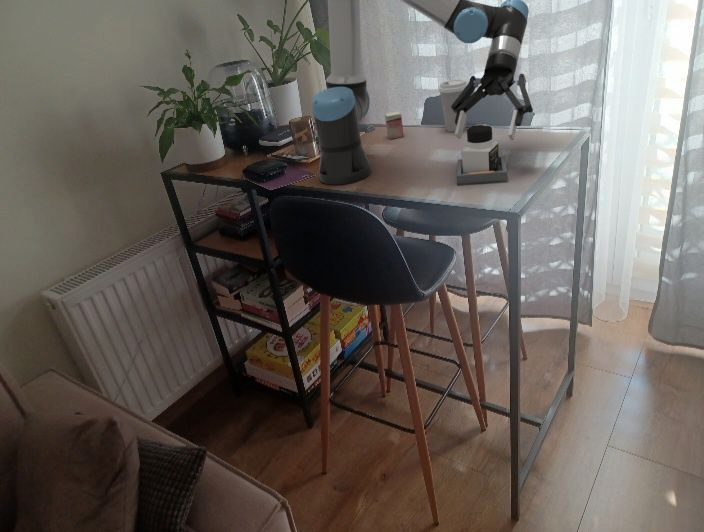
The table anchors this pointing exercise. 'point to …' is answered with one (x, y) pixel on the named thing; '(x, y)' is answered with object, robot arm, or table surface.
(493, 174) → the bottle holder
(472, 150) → the medicine bottle
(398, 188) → the table surface
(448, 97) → the coffee cup
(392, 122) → the small box
